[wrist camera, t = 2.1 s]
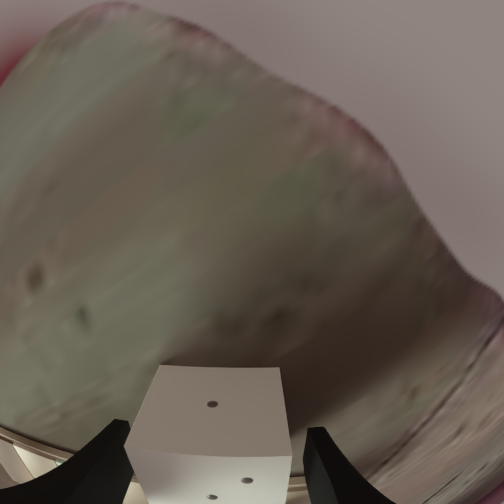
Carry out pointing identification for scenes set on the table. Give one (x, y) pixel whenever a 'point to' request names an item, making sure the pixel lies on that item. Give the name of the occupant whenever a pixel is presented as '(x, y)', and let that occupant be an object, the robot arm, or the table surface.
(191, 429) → the die
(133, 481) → the board
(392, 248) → the table surface
